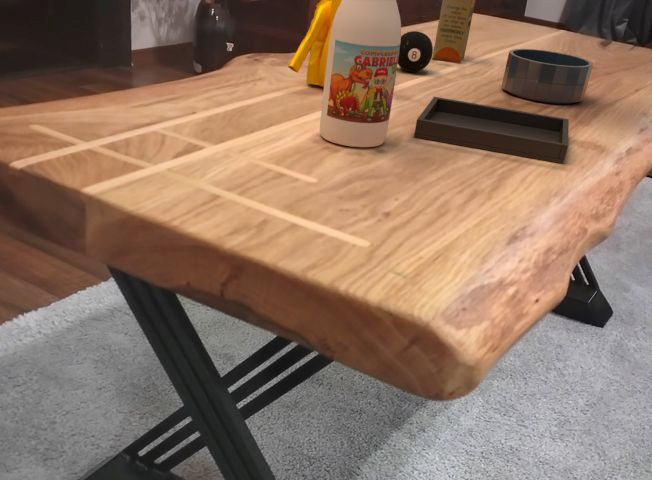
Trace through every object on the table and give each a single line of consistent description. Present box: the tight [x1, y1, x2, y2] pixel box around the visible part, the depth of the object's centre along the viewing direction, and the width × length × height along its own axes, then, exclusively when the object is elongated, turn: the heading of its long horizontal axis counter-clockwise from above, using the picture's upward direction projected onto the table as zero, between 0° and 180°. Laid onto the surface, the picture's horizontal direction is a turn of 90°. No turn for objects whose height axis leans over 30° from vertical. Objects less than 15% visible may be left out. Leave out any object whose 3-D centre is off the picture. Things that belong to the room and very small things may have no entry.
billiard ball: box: [397, 30, 434, 73], centre depth 124 cm, size 6×6×6 cm
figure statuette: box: [287, 0, 342, 88], centre depth 105 cm, size 18×8×22 cm, turn 149°
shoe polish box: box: [431, 0, 476, 64], centre depth 135 cm, size 5×5×12 cm
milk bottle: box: [319, 0, 402, 148], centre depth 84 cm, size 8×8×20 cm
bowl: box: [500, 48, 594, 105], centre depth 118 cm, size 12×12×6 cm
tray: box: [413, 96, 570, 164], centre depth 95 cm, size 17×13×2 cm
